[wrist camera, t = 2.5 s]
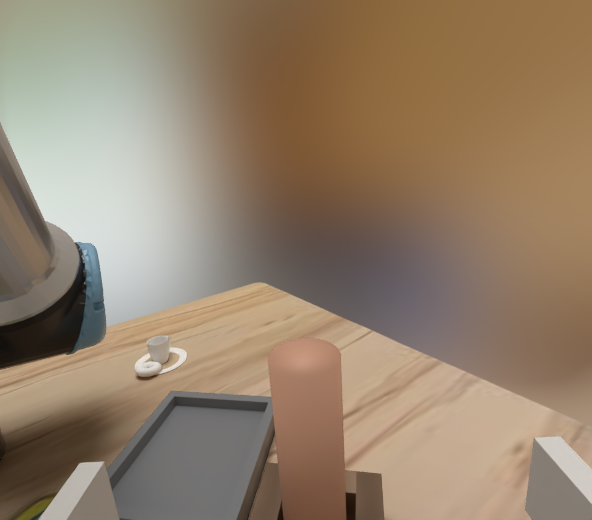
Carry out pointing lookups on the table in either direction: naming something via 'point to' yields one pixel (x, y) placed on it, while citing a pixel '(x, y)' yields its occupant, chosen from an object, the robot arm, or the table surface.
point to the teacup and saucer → (158, 357)
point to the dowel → (309, 428)
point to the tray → (195, 458)
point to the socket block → (358, 487)
